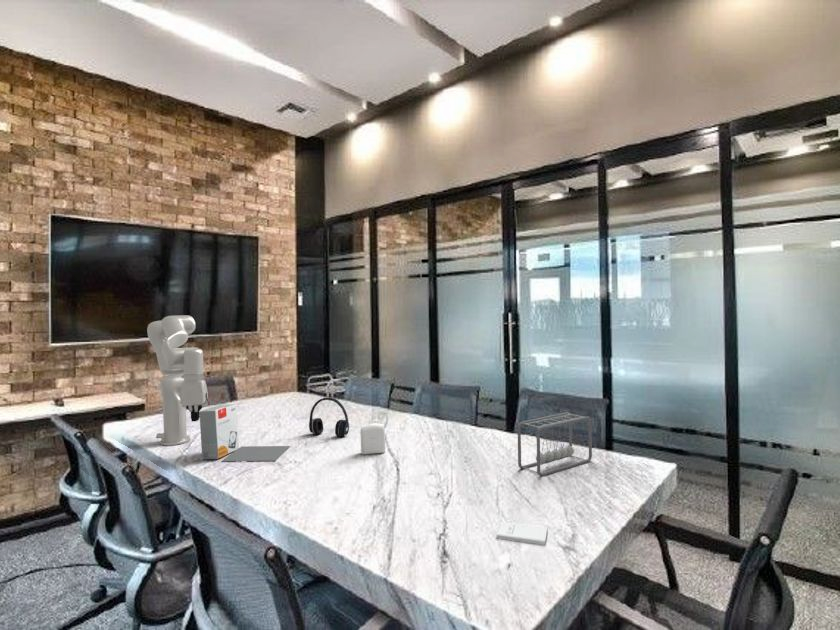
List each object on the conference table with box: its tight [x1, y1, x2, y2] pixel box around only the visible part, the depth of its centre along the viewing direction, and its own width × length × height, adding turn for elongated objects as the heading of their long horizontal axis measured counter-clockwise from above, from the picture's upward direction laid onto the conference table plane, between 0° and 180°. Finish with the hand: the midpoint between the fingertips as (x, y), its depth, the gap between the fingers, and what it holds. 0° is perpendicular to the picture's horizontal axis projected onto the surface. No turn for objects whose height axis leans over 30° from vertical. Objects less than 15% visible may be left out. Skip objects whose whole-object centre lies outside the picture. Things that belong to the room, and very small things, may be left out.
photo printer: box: [360, 422, 386, 455], centre depth 199 cm, size 10×4×12 cm, turn 100°
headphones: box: [308, 397, 350, 438], centre depth 227 cm, size 20×7×18 cm, turn 71°
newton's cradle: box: [517, 411, 593, 477], centre depth 179 cm, size 30×10×18 cm, turn 123°
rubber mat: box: [221, 445, 291, 463], centre depth 200 cm, size 22×20×1 cm
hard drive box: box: [199, 403, 240, 460], centre depth 201 cm, size 16×8×20 cm, turn 168°
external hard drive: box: [496, 521, 549, 546], centre depth 125 cm, size 2×8×12 cm
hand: (195, 420), depth 201 cm, fingers closed
